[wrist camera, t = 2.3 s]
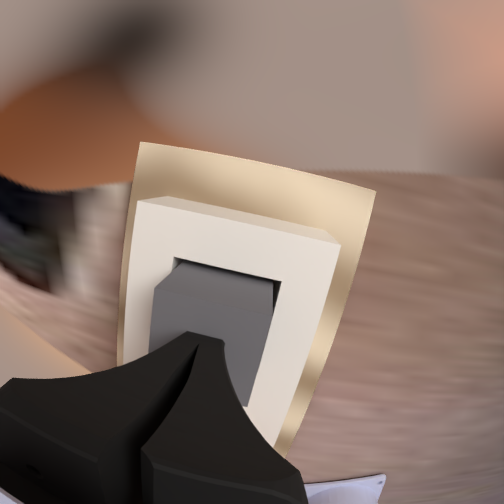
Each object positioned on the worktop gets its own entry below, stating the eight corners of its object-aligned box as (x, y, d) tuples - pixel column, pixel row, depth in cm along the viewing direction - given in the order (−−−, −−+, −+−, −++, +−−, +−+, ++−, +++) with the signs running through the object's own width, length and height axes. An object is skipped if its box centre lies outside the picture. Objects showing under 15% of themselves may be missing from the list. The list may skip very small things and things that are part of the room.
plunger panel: (257, 452, 20) (253, 492, 16) (144, 424, 20) (126, 459, 16) (325, 230, 17) (341, 245, 13) (167, 196, 17) (137, 200, 13)
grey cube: (253, 355, 15) (247, 407, 11) (174, 336, 15) (146, 381, 11) (272, 279, 14) (272, 315, 10) (185, 259, 14) (154, 287, 10)
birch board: (276, 466, 22) (276, 475, 21) (123, 429, 22) (119, 436, 21) (370, 190, 17) (376, 191, 16) (147, 143, 17) (140, 141, 16)
